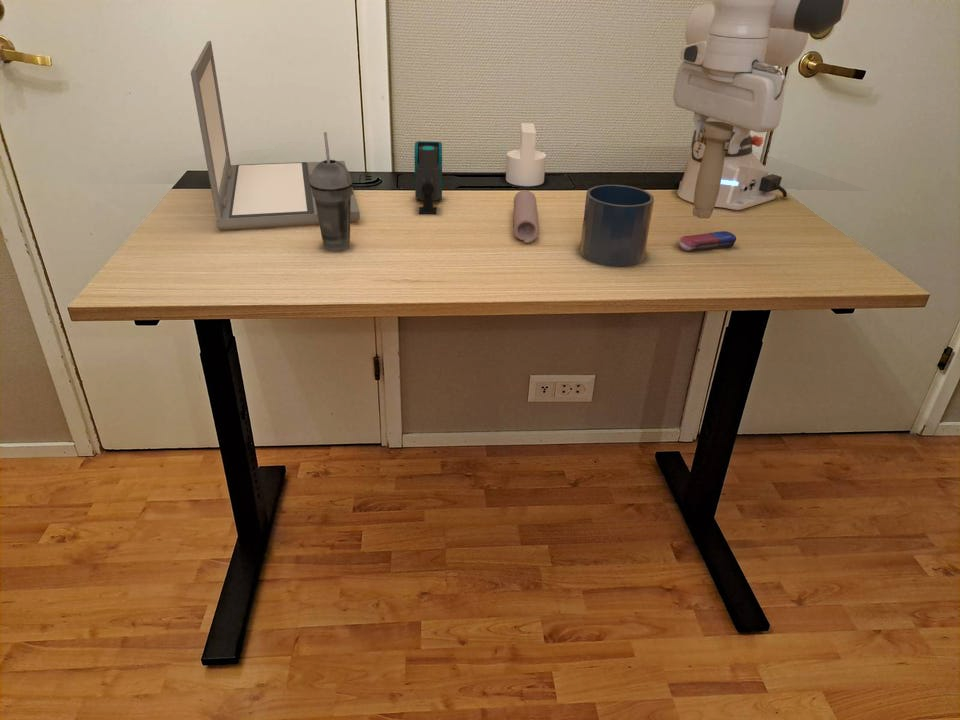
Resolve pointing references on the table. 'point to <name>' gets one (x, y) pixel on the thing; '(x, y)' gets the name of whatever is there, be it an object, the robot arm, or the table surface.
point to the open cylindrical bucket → (616, 225)
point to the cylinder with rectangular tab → (526, 160)
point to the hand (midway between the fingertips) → (715, 147)
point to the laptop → (250, 170)
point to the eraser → (707, 241)
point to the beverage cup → (332, 201)
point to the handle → (711, 167)
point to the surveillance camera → (428, 174)
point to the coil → (525, 216)
